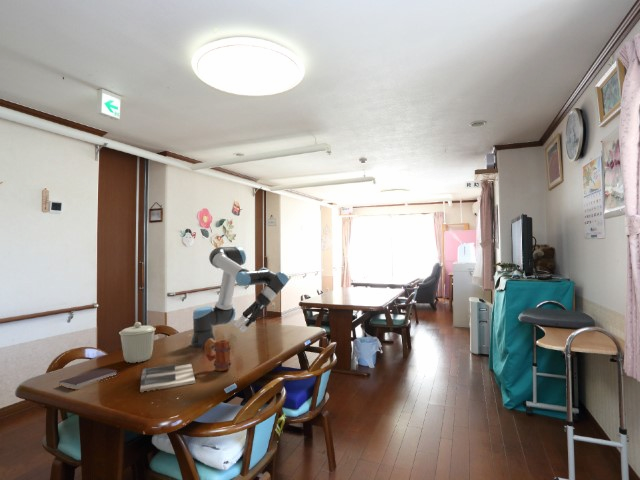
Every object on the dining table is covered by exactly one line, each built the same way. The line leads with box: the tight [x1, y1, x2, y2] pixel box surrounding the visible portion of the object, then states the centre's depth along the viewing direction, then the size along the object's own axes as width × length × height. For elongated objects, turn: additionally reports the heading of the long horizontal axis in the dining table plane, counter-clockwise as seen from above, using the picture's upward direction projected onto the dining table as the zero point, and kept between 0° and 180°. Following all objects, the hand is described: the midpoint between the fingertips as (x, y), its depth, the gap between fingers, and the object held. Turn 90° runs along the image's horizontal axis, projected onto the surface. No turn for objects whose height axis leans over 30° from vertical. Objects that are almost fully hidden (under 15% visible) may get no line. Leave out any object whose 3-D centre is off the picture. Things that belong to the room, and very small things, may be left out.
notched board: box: [139, 363, 196, 393], centre depth 164 cm, size 26×22×4 cm
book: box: [59, 367, 118, 387], centre depth 163 cm, size 12×19×3 cm, turn 154°
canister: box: [118, 321, 156, 364], centre depth 193 cm, size 18×18×21 cm
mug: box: [203, 338, 232, 372], centre depth 174 cm, size 15×8×15 cm, turn 71°
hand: (238, 328), depth 178 cm, fingers open, 13 cm apart
